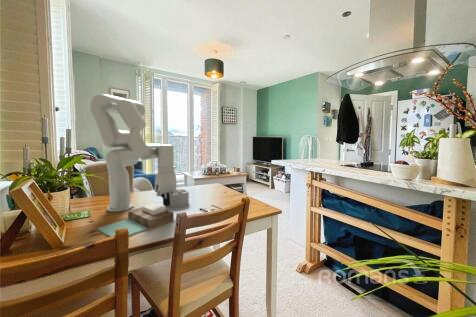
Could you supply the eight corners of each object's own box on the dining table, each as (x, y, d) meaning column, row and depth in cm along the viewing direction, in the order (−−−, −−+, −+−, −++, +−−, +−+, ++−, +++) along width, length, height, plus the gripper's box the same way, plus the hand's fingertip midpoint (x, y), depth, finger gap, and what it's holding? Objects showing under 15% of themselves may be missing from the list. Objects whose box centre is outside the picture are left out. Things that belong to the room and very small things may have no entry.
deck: (128, 219, 102) (128, 210, 102) (151, 211, 112) (151, 204, 111) (150, 229, 92) (150, 220, 91) (173, 220, 101) (173, 212, 101)
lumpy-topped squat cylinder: (190, 203, 126) (190, 189, 125) (170, 209, 117) (170, 193, 116) (181, 199, 133) (181, 186, 132) (161, 204, 124) (161, 189, 123)
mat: (97, 229, 91) (97, 228, 91) (128, 219, 101) (128, 218, 101) (116, 241, 81) (115, 239, 81) (147, 229, 92) (147, 227, 92)
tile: (142, 210, 103) (142, 206, 102) (153, 207, 108) (153, 203, 107) (153, 214, 97) (153, 210, 97) (164, 211, 102) (164, 207, 102)
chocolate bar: (221, 218, 104) (199, 208, 117) (221, 220, 104) (199, 210, 117) (234, 213, 111) (212, 205, 123) (234, 215, 111) (212, 206, 123)
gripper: (173, 167, 114) (173, 200, 117) (147, 170, 102) (148, 207, 104) (183, 168, 110) (183, 203, 112) (157, 172, 98) (158, 211, 100)
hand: (166, 205), depth 108 cm, fingers closed
